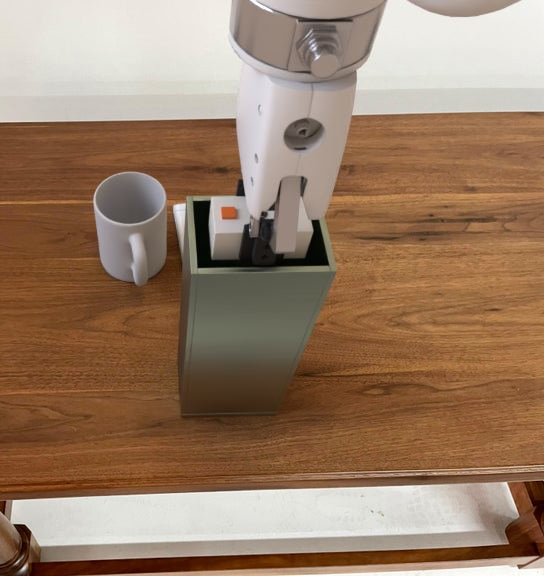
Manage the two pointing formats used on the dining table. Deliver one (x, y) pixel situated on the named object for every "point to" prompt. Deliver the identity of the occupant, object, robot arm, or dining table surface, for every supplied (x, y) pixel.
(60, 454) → the dining table surface
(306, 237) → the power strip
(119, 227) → the mug
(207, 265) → the box
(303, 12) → the robot arm
